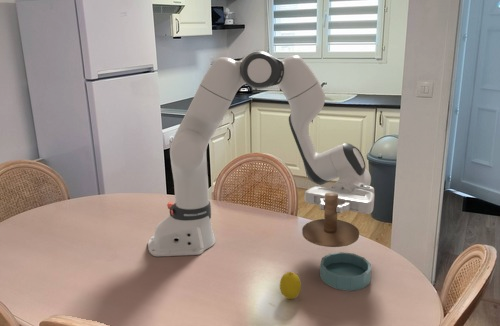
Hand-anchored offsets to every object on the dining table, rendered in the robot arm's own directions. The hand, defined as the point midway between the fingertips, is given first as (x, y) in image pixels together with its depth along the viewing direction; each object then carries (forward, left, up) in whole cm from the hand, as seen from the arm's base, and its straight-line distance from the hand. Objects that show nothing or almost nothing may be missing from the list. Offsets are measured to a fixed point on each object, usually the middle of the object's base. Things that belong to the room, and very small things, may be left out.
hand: (330, 208), depth 123 cm
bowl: (+4, -3, -20) cm, 21 cm away
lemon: (-15, -9, -21) cm, 27 cm away
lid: (+1, +1, -8) cm, 8 cm away
